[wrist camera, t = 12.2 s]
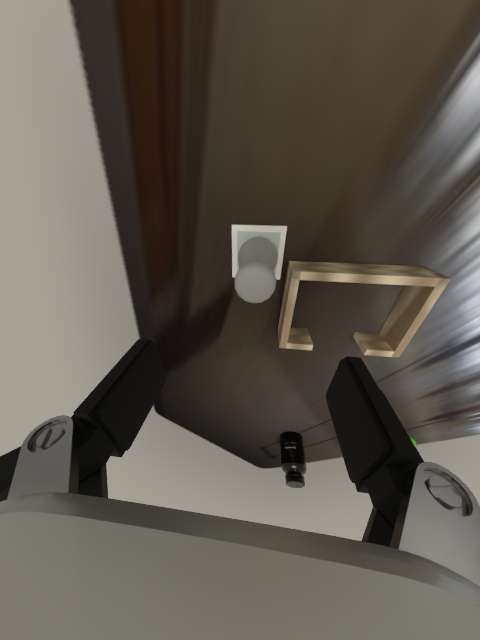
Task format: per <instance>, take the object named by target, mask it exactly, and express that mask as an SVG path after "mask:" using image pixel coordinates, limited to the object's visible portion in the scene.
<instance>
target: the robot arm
mask: <svg viewBox="0 0 480 640" xmlns="http://www.w3.org/2000/svg"><path fill="white" fill-rule="evenodd" d="M165 381H166V376H165V373H164V370H163V367H162V363H161V360H160V357H159V354H158V351H157V347H156V345H155V343H153V342H152V340H146V339H139V340H137V341H136V343H135V344H134V345H133V346H132V347H131V348H130V349H129V350H128V352H127V353H126V354H125V355H124V356H123V357H122V358H121V359H120V361H119V362H118V363H117V364H116V365H115V366H114V368H113V369H112V370H111V371H110V372H109V373H108V374H107V375H106V376H105V378H104V379H103V380H102V381H101V382H100V383H99V384H98V385H97V387H96V388H95V389H94V390H93V391H92V392H91V393H90V395H89V396H88V397H87V398H86V399H85V400H84V401H83V402H82V403H81V405H80V406H79V407H78V408H77V409H76V410H75V411H74V415H73V416H72V417H71V418H70V417H69V416H57V417H54V418H51V419H49V420H47V421H45V422H43V423H42V424H41V425H39V426H37V427H36V428H35V429H34V430H33V431H32V432H31V433H30V434H29V435H28V436H27V438H26V439H25V440H24V442H23V444H22V446H21V447H19V448H17V449H15V450H13V451H11V452H9V453H7V454H5V455H3V456H0V640H480V506H479V504H478V502H477V500H476V499H475V496H474V495H473V493H472V492H471V491H470V490H469V488H468V487H467V486H466V485H465V484H464V483H463V482H462V481H461V480H460V479H459V478H458V477H457V476H456V475H454V474H453V473H452V472H450V471H449V470H447V469H446V468H444V467H442V466H440V465H438V464H435V463H432V462H424V461H423V459H422V458H421V456H420V455H419V452H418V451H417V449H416V447H415V446H414V444H413V442H412V441H411V439H410V437H409V436H408V434H407V432H406V431H405V429H404V427H403V425H402V424H401V422H400V420H399V419H398V417H397V415H396V414H395V412H394V410H393V409H392V407H391V405H390V404H389V402H388V400H387V399H386V397H385V395H384V394H383V392H382V391H381V390H380V389H379V388H378V386H377V384H376V383H375V381H374V379H373V378H372V376H371V374H370V373H369V371H368V369H367V367H366V366H365V364H364V362H363V361H362V359H361V358H358V357H345V358H344V359H342V360H341V361H340V363H339V365H338V368H337V370H336V372H335V375H334V377H333V379H332V381H331V384H330V386H329V388H328V391H327V393H326V400H327V404H328V407H329V411H330V414H331V417H332V421H333V424H334V428H335V431H336V434H337V438H338V441H339V444H340V448H341V451H342V454H343V458H344V461H345V465H346V468H347V471H348V475H349V477H350V480H351V481H352V482H353V483H355V485H356V489H357V491H358V492H363V493H369V495H370V498H371V501H372V504H373V509H372V512H371V515H370V518H369V521H368V524H367V527H366V530H365V533H364V536H363V539H362V541H356V540H351V539H346V538H341V537H336V536H331V535H325V534H318V533H313V532H307V531H301V530H296V529H290V528H283V527H278V526H272V525H267V524H260V523H255V522H248V521H243V520H236V519H230V518H225V517H219V516H213V515H207V514H200V513H195V512H189V511H183V510H177V509H171V508H165V507H158V506H152V505H146V504H140V503H134V502H128V501H121V500H115V499H108V489H107V472H106V462H107V461H108V459H109V457H110V456H116V457H122V456H123V454H124V452H125V451H126V450H128V449H129V448H130V447H131V445H132V443H133V441H134V439H135V438H136V436H137V434H138V432H139V430H140V428H141V426H142V425H143V423H144V421H145V419H146V417H147V415H148V413H149V412H150V410H151V408H152V406H153V404H154V402H155V400H156V399H157V397H158V395H159V393H160V391H161V389H162V387H163V386H164V384H165Z"/></svg>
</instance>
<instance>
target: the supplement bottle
mask: <svg viewBox="0 0 480 640" xmlns="http://www.w3.org/2000/svg"><path fill="white" fill-rule="evenodd" d="M280 446H281V466H282V469H283V471H284V472H285V473H286V475H285V476H286V484H287V485H288V486H290V487H293V488H302V487H304V486H305V483H304V477H303V475H304V474H305V472H306V462H305V454H304V447H303V440H302V437H301V436H300V435H299V434H297V433H294V432H286V433H283V434H282V435H281V436H280Z"/></svg>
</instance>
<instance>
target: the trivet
mask: <svg viewBox="0 0 480 640" xmlns="http://www.w3.org/2000/svg"><path fill="white" fill-rule="evenodd" d="M286 232H287V226H275V225H237V224H232V277H235V276H236V274H237V272H238V270H239V265H238V252H239V250H240V248H241V246H242V244H243V243H245V242H246V241H247V240H248V239H250V238H254V237H258V236H260V237H263V238H267V239H269V240H270V241H271V242H272V243H273V244H274V245H275V247H276V250H277V253H278V260H277V265H276V267H275V270H274V274H275V277H276V280H280V276H281V269H282V261H283V254H284V247H285V239H286Z"/></svg>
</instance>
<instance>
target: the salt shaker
mask: <svg viewBox="0 0 480 640" xmlns="http://www.w3.org/2000/svg"><path fill="white" fill-rule="evenodd" d="M277 260H278V253H277V250H276V247H275V245H274V244H273V243H272V242H271V241H270V240H269V239H267V238H263V237H260V236H258V237H254V238H250V239H248V240H247V241H246V242H245V243H243V244H242V246H241V248H240V250H239V252H238V265H239V270H238V272H237V274H236V276H235V289H236V291H237V293H238V295H239V296H240V297H241V298H242V299H243V300H245V301H247V302H251V303H260V302H263V301H265V300H267V299H268V298H270V296H271V295H272V293H273V292H274V291H275V287H276V277H275V274H274V270H275V267H276V265H277Z"/></svg>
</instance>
